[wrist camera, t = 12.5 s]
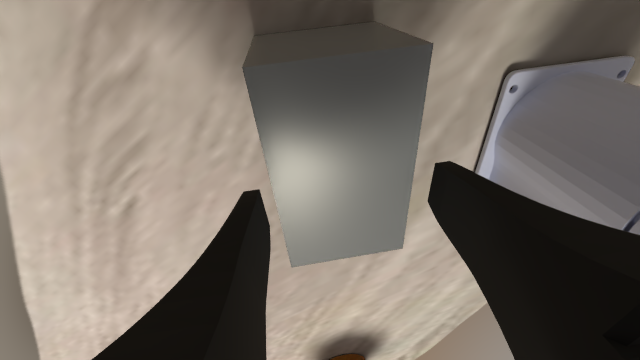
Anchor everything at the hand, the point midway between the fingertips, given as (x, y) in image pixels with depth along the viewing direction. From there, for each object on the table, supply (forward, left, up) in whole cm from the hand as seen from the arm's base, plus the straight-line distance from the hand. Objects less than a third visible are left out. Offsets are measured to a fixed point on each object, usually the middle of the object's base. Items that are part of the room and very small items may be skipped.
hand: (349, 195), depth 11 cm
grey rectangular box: (0, 0, -7) cm, 7 cm away
